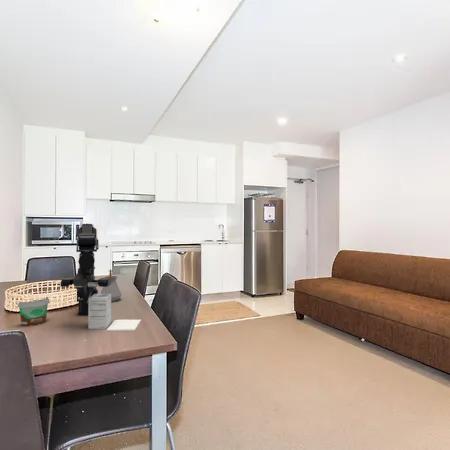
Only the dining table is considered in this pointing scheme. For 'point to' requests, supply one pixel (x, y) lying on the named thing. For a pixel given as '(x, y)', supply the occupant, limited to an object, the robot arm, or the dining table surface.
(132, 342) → the dining table surface
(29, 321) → the food container
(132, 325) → the white flat slab
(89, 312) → the supplement box
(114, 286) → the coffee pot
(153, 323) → the dining table surface
